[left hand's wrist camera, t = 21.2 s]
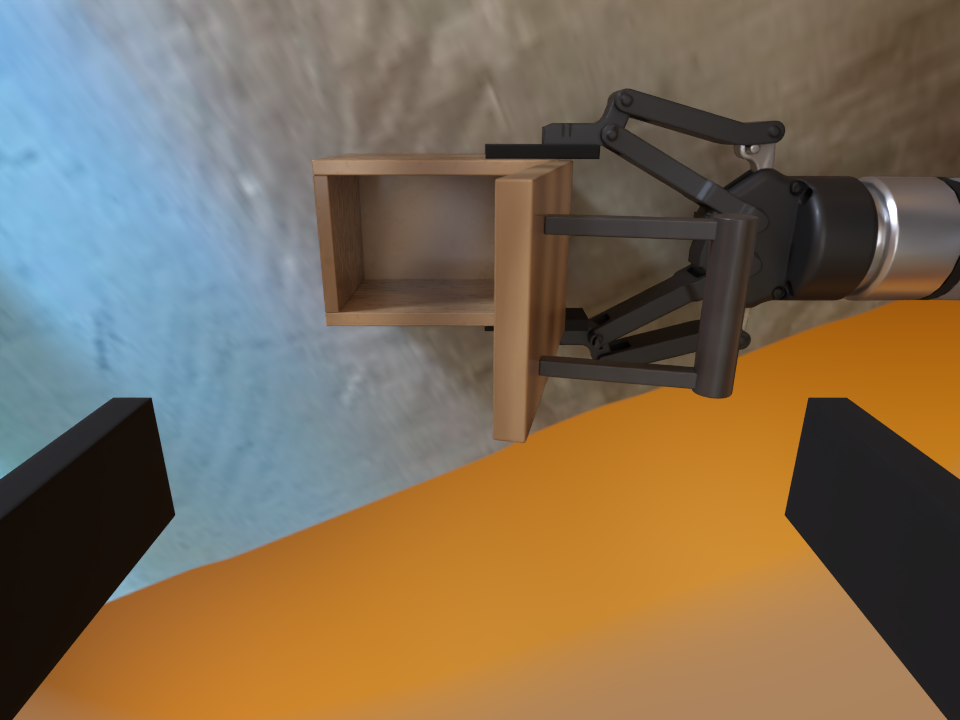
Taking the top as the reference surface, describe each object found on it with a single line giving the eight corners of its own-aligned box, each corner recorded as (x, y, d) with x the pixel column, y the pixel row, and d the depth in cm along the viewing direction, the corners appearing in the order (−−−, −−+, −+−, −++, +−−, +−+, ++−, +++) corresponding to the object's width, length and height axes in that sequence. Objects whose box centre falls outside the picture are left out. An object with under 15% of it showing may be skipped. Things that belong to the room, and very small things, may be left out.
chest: (356, 287, 46) (326, 326, 37) (347, 153, 43) (311, 159, 34) (537, 287, 46) (552, 326, 37) (542, 153, 43) (559, 159, 34)
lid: (492, 440, 23) (740, 467, 21) (494, 178, 20) (788, 183, 18) (542, 328, 37) (699, 339, 35) (549, 160, 33) (722, 162, 31)
